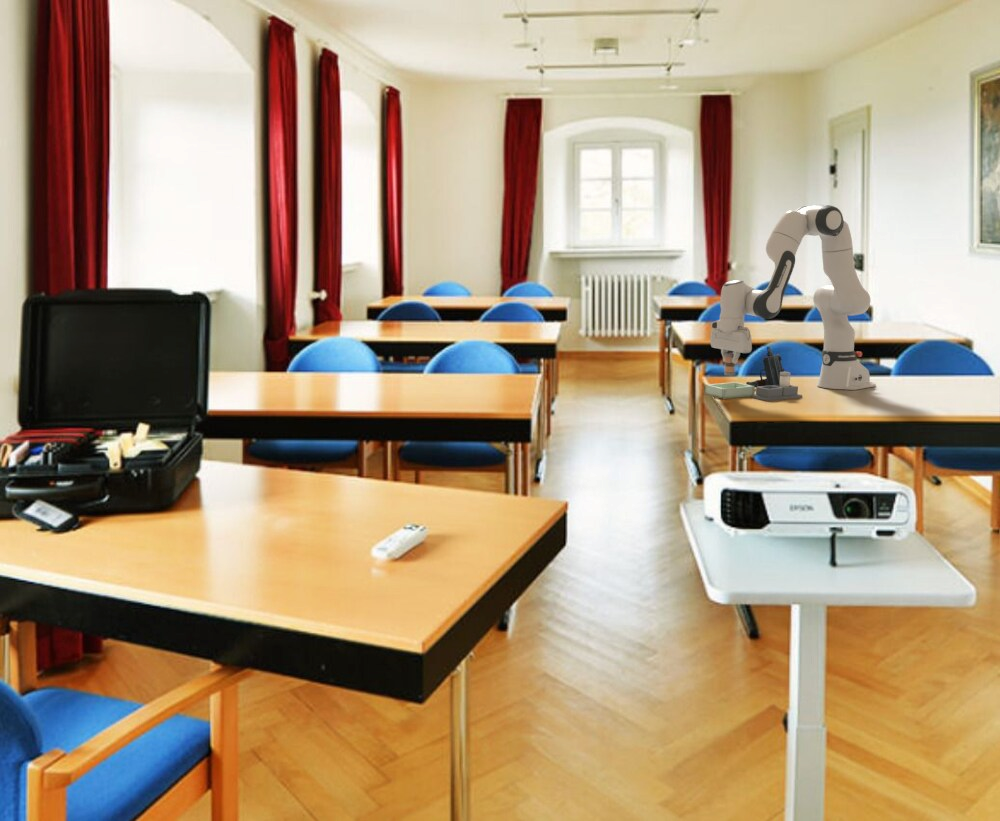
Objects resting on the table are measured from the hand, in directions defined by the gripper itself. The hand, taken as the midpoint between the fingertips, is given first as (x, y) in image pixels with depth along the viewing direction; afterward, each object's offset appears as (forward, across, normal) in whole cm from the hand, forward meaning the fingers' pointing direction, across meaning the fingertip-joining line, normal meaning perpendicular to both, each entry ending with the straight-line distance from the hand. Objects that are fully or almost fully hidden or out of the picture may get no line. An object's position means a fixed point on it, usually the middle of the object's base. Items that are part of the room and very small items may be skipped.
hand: (730, 362), depth 375 cm
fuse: (+11, -12, -16) cm, 23 cm away
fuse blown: (+5, 0, 0) cm, 5 cm away
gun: (+12, +2, -19) cm, 23 cm away
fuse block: (+12, -12, -12) cm, 21 cm away
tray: (+12, 0, 0) cm, 12 cm away
